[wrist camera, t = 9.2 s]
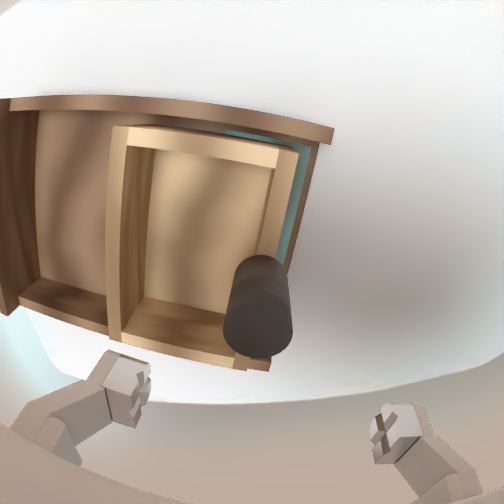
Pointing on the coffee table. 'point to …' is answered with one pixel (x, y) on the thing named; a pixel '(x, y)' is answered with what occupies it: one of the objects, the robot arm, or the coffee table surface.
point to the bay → (102, 191)
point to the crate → (197, 243)
